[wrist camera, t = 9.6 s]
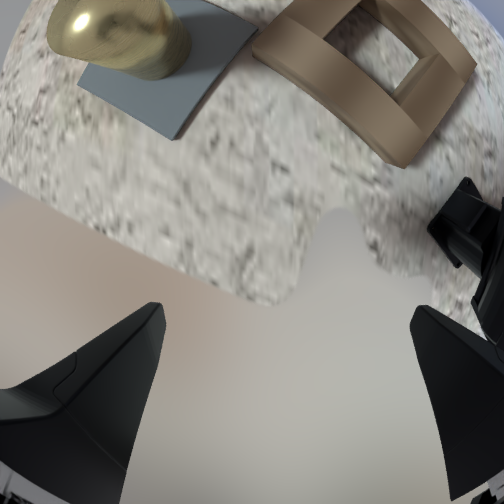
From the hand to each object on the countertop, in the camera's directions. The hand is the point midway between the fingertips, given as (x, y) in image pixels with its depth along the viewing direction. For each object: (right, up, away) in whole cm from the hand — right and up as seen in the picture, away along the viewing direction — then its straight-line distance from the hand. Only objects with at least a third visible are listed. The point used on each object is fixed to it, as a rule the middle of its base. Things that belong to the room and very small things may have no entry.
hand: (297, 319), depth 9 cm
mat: (-8, +16, +6) cm, 19 cm away
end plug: (-8, +16, +5) cm, 19 cm away
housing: (+7, +16, +5) cm, 19 cm away
